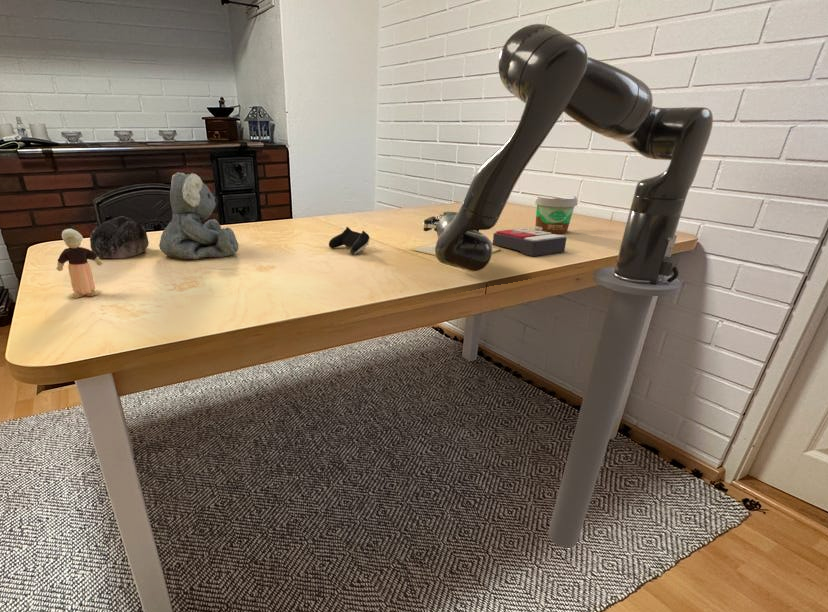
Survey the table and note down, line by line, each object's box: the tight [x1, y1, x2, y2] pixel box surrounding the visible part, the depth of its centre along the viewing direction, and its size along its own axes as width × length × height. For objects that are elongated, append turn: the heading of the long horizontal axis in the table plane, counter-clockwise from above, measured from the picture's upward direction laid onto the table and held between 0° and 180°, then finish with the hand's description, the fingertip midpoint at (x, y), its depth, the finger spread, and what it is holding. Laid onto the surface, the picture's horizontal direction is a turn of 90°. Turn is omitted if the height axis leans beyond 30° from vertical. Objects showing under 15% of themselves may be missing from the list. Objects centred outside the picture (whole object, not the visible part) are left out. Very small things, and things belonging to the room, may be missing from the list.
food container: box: [534, 195, 578, 235], centre depth 137 cm, size 12×6×10 cm, turn 95°
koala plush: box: [158, 171, 239, 260], centre depth 115 cm, size 17×18×20 cm
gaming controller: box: [328, 226, 371, 255], centre depth 121 cm, size 11×4×7 cm
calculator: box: [492, 227, 567, 257], centre depth 122 cm, size 11×4×15 cm
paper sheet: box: [412, 242, 501, 256], centre depth 121 cm, size 16×16×1 cm
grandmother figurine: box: [56, 228, 104, 299], centre depth 88 cm, size 8×4×13 cm, turn 126°
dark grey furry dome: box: [89, 215, 150, 259], centre depth 118 cm, size 13×14×10 cm
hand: (448, 218), depth 120 cm, fingers closed on dot stamp, 3 cm apart
